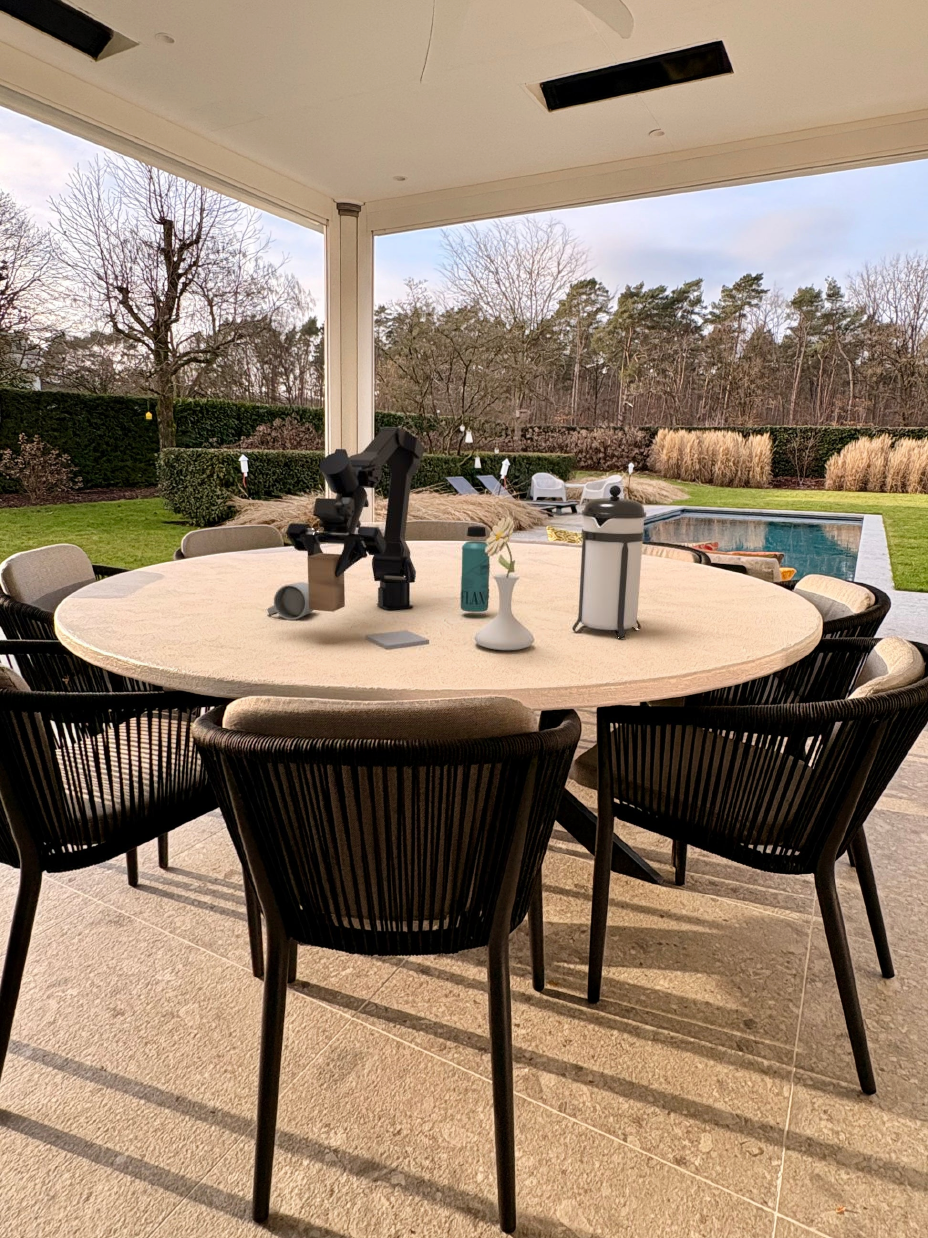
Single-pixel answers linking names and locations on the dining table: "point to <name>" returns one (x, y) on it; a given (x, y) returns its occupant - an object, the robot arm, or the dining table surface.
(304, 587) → the ceramic mug
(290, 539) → the robot arm
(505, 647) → the flower in vase
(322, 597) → the walnut post
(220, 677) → the dining table surface
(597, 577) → the coffee press
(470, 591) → the beverage bottle
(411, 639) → the upper grey slab
